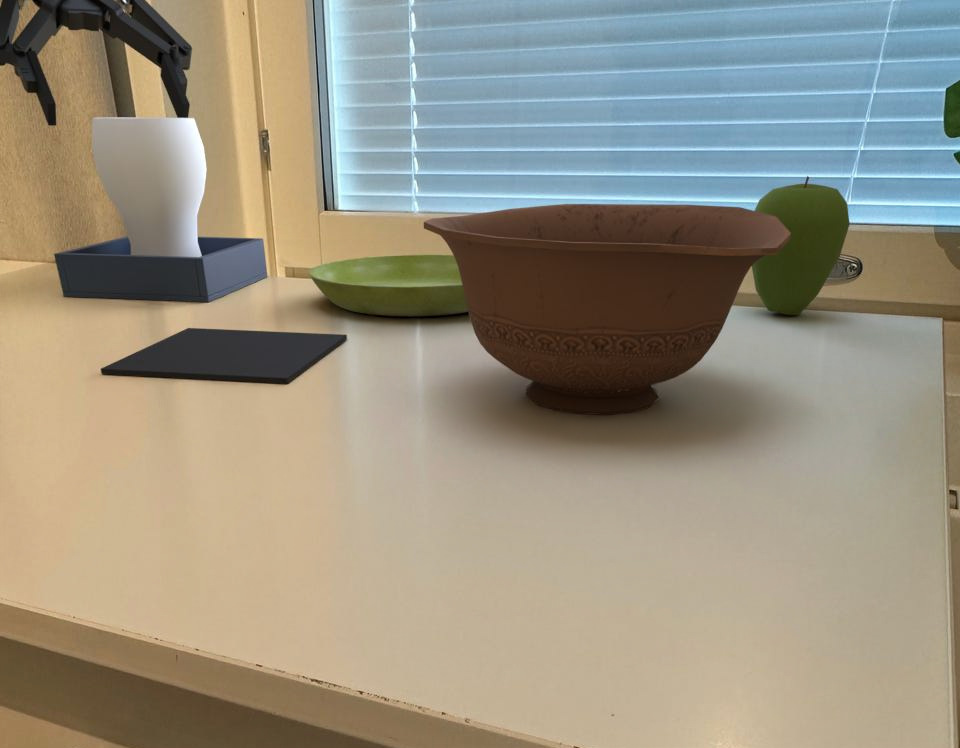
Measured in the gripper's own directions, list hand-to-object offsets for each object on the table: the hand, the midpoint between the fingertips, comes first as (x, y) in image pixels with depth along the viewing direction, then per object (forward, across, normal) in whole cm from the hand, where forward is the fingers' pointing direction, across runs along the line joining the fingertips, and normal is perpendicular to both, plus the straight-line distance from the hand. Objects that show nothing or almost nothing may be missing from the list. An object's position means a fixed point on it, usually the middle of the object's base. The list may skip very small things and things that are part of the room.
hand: (121, 115), depth 93 cm
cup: (+17, 0, -5) cm, 18 cm away
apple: (+50, -44, +27) cm, 71 cm away
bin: (+17, 0, -5) cm, 18 cm away
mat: (+41, +5, +19) cm, 45 cm away
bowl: (+58, -11, +35) cm, 68 cm away
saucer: (+33, -18, +11) cm, 39 cm away
